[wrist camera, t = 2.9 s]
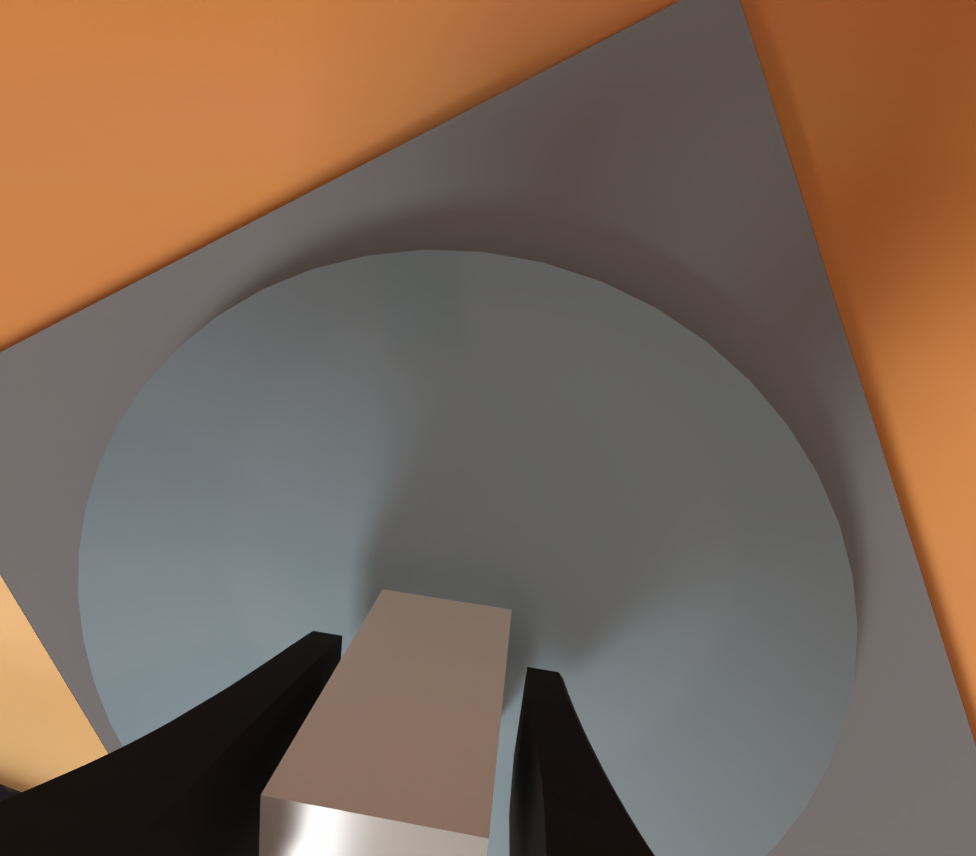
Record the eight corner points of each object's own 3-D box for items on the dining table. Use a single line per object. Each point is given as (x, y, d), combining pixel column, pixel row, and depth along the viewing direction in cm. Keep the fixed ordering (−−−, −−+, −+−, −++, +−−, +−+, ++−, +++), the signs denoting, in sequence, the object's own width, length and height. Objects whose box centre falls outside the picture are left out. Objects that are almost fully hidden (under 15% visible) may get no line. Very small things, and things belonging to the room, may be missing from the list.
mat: (-83, 402, 13) (-102, 404, 12) (724, -13, 9) (732, -27, 9) (282, 1013, 16) (276, 1031, 15) (1002, 858, 12) (1016, 875, 12)
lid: (118, 857, 15) (-150, 1196, 9) (90, 214, 11) (-384, 100, 5) (741, 984, 13) (890, 1474, 8) (935, 305, 10) (1481, 282, 4)
